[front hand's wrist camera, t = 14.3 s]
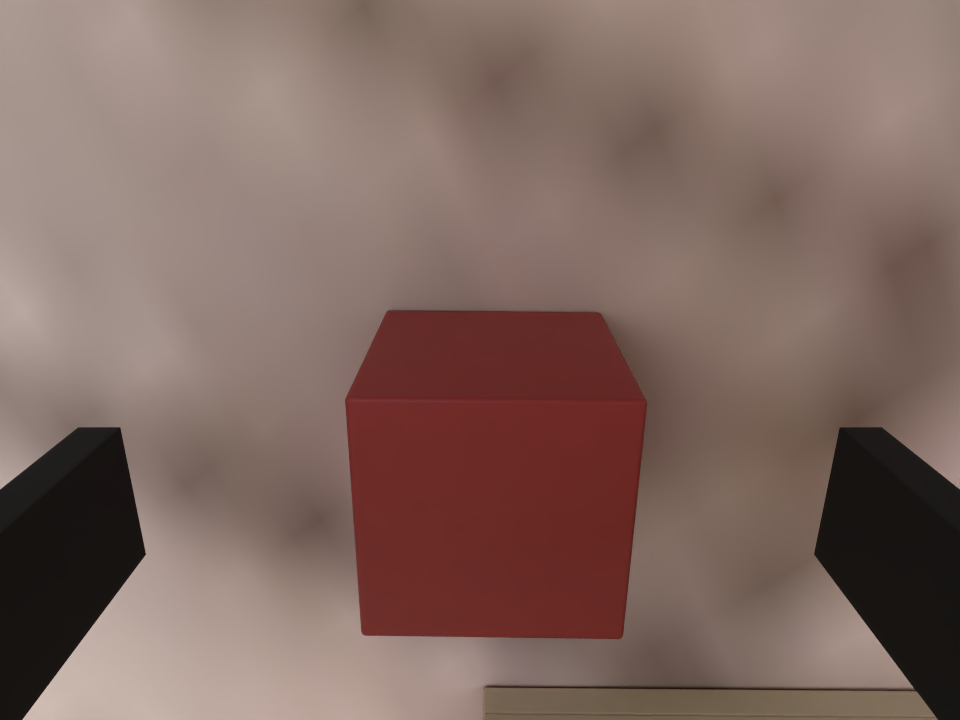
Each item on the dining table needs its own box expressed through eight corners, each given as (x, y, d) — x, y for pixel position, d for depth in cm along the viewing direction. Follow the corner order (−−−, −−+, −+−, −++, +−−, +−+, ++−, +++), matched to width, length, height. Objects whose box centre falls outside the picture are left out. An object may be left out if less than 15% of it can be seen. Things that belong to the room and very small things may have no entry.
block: (394, 494, 16) (360, 637, 12) (386, 309, 15) (343, 397, 10) (587, 497, 16) (623, 640, 12) (601, 311, 15) (648, 401, 10)
